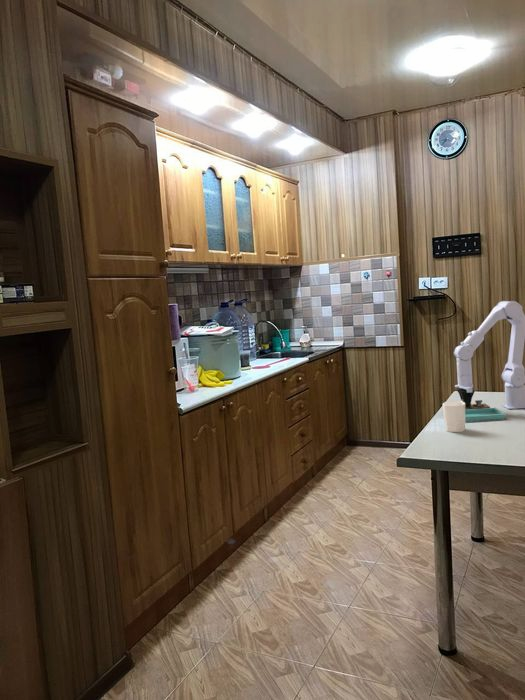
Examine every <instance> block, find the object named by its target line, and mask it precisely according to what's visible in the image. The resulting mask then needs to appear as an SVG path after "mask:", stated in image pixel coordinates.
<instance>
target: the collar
mask: <svg viewBox="0 0 525 700" xmlns="http://www.w3.org/2000/svg"><path fill="white" fill-rule="evenodd" d="M462 402H463V399H462ZM483 408H491V406H490V405H488V404H487V403H486V402H485V403H483V402H482V403H481V407H476V403H471V406H470V407H468V408H465V410H468V409H483Z"/></svg>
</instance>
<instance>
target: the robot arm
mask: <svg viewBox="0 0 525 700" xmlns="http://www.w3.org/2000/svg"><path fill="white" fill-rule="evenodd" d="M523 307H524V306H522V305H521V304H520V303H519V302H517V301H515V300H510V301H508V300H502V301H499V302H498V303H497V304H496V306H494V307H493V308H492V309H491V311H490V313H489V314H488V316H486V318H485V319H484V321H483V322H482V323H481V324H480V326H479V327H478V328H477V329H476V330H472V331H469V332H468V333H467V337H465V339H464V340H463V341H461V342H460V345H457V346H456V347H455V348H454V351H453V355H454V357H455V358H456V359H455V360H456V373H457V374H456V376H457V377H456V378H457V379H456V380H457V384H455V385H454V387H455V388H457V389H456V391H457V393H458V395H459V398H460V401H461V402H462V399H463V402H465V408H468V407H470V406H471V404H472V400H473V397H474V394H475V390H473V387H474V384H473V371H472V358H473V357H474V352H475V351H476V350H477V348H478V347H479V346H480V345H481V343H482V342H483V341H484V340H485V334H487V333H488V332H489V330H490V329H491V328H492V327H493V326H494V325H495V324H496V323H497V322H498V321H501V320H505V319H506V320H507V321H508V322H509V324H511V332H510V339H509V349H508V358H507V362H506V363H505V365H504V369H503V371H502V373H501V379H502V381H503V382H504V397H505V403H503V404H502V405H501V406H502V407H504V408H506V409H507V410H515V409H525V366H524V365H523V359H524V350H525V312H524V311H523Z"/></svg>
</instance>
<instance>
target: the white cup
mask: <svg viewBox="0 0 525 700" xmlns="http://www.w3.org/2000/svg"><path fill="white" fill-rule="evenodd" d="M442 411H443V418H444V424H445V431H447V432H449V433H462V432H464V431H465V430H466V422H465V402H461V400H460V401H459V400H454V401H453V400H452V401H444V402H443V403H442Z"/></svg>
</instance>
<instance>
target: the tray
mask: <svg viewBox="0 0 525 700" xmlns="http://www.w3.org/2000/svg"><path fill="white" fill-rule="evenodd" d="M485 420H486V421H485ZM487 420H490V421H501V420H503V421H504V420H506V414H505V413H504V412H503V411H501V410H500V409H498V408H497V407H490V408H483V409H468V410H465V423H471V422H470V421H474V422H487Z"/></svg>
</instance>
